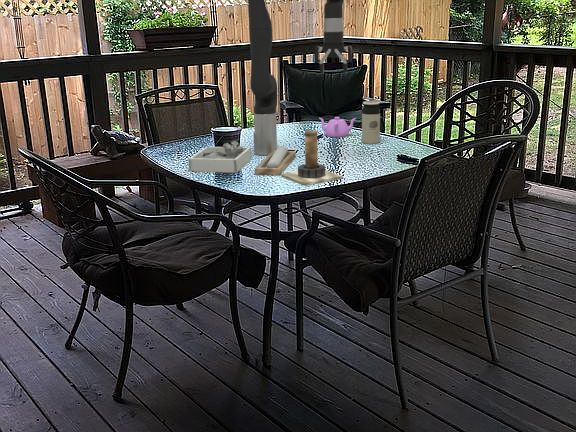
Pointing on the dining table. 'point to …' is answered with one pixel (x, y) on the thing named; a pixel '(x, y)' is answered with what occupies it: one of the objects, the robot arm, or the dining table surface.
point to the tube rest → (279, 170)
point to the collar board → (313, 180)
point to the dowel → (311, 149)
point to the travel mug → (371, 122)
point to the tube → (277, 157)
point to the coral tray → (219, 161)
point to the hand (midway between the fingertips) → (333, 73)
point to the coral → (230, 151)
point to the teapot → (337, 127)
